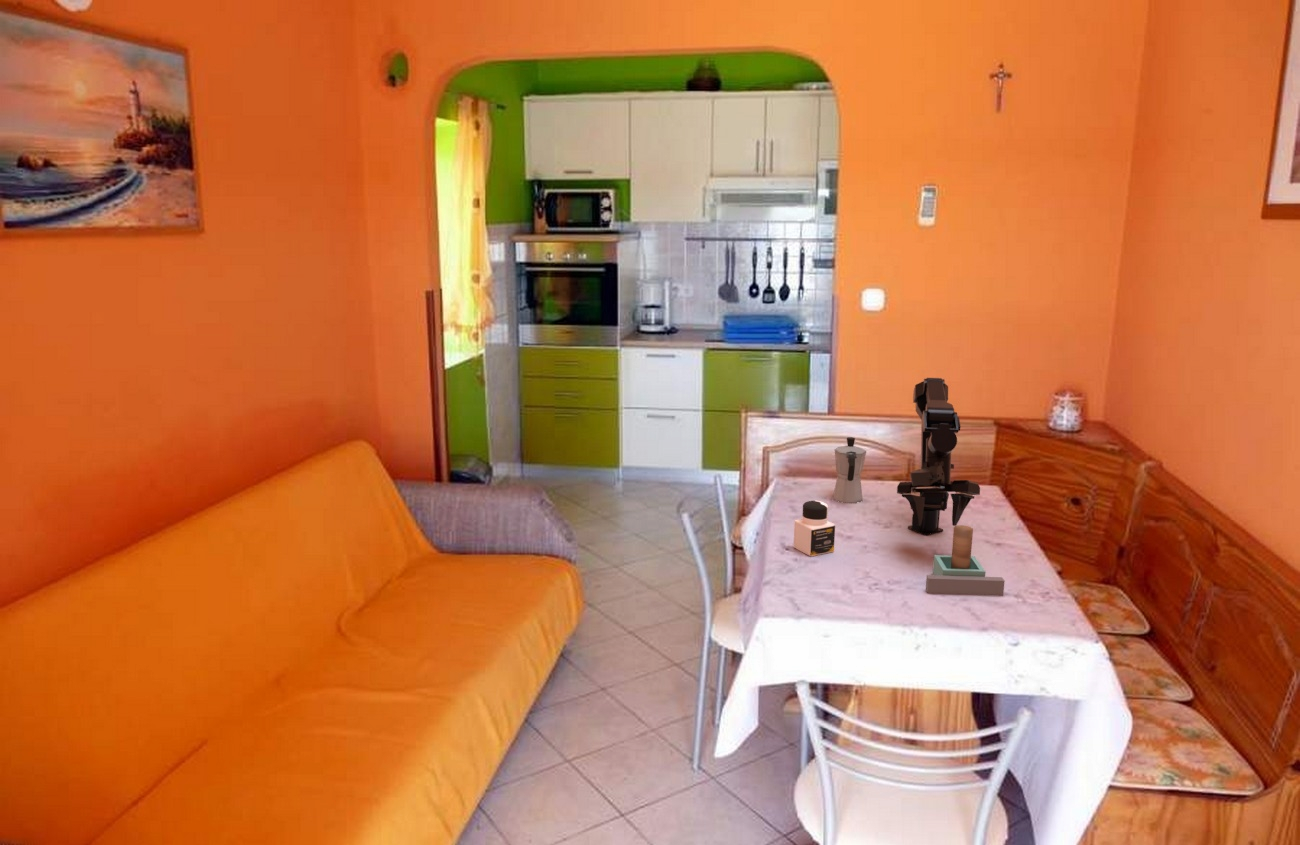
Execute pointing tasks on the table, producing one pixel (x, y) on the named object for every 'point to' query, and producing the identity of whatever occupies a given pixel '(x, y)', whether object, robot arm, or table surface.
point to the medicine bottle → (814, 530)
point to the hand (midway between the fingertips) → (936, 525)
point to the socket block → (944, 568)
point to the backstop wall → (965, 585)
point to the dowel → (961, 547)
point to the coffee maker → (849, 472)
